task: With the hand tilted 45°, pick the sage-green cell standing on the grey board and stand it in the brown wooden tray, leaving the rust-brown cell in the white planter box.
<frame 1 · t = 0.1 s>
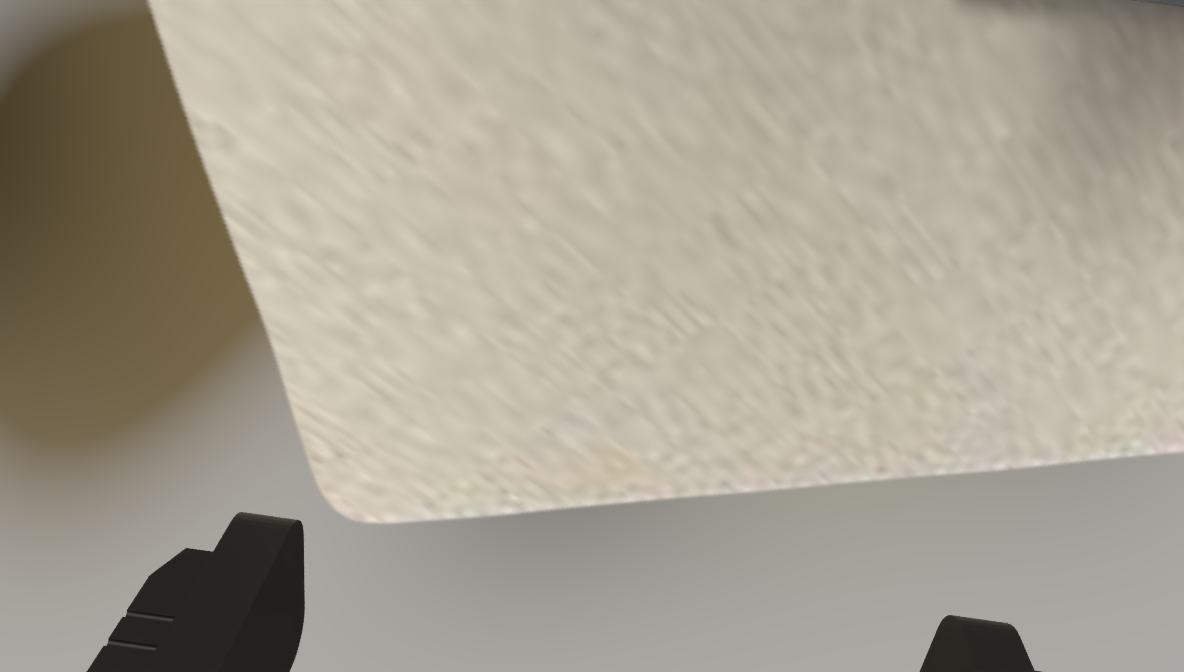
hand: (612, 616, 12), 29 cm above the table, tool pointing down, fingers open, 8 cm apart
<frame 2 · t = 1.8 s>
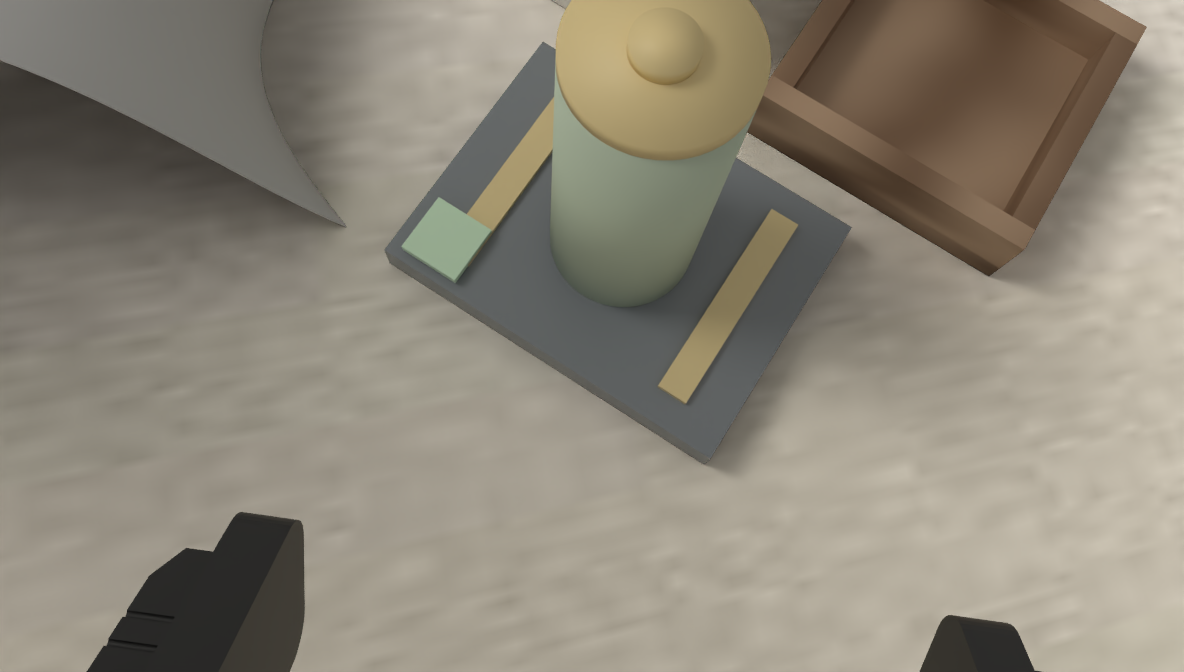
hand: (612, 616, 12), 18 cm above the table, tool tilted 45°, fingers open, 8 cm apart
brown wooden tray: (928, 97, 35), on the table
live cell: (621, 238, 31), point 1 cm above the table, touching grey board
grey board: (618, 251, 33), on the table
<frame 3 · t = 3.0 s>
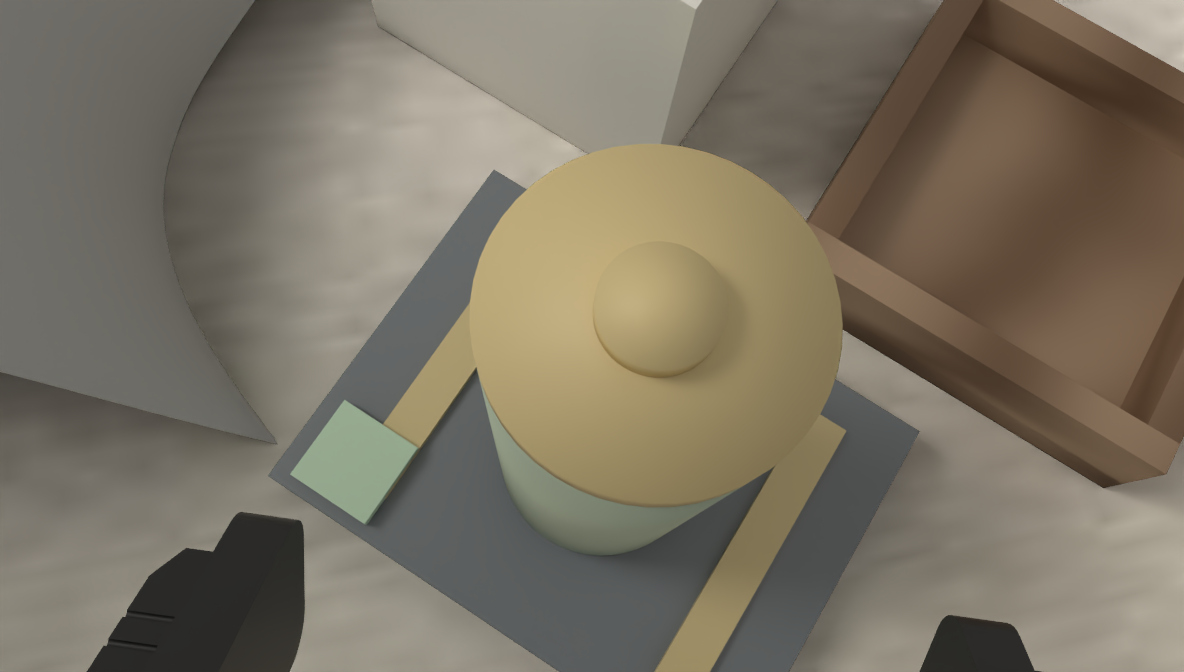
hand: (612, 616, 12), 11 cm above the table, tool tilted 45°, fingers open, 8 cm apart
brown wooden tray: (1013, 234, 26), on the table
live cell: (601, 453, 23), point 1 cm above the table, touching grey board
grey board: (598, 460, 24), on the table
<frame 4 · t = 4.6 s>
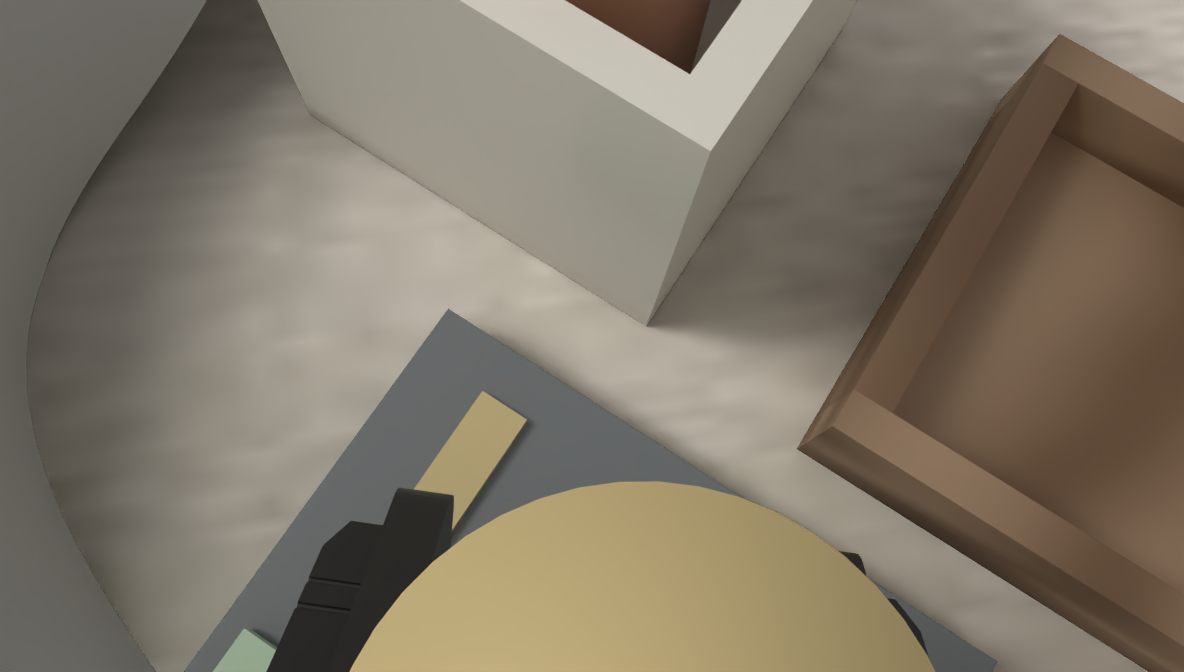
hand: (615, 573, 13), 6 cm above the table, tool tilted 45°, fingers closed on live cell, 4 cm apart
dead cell: (586, 54, 21), point 1 cm above the table, touching white planter box
brown wooden tray: (1107, 383, 21), on the table
white planter box: (584, 69, 22), on the table
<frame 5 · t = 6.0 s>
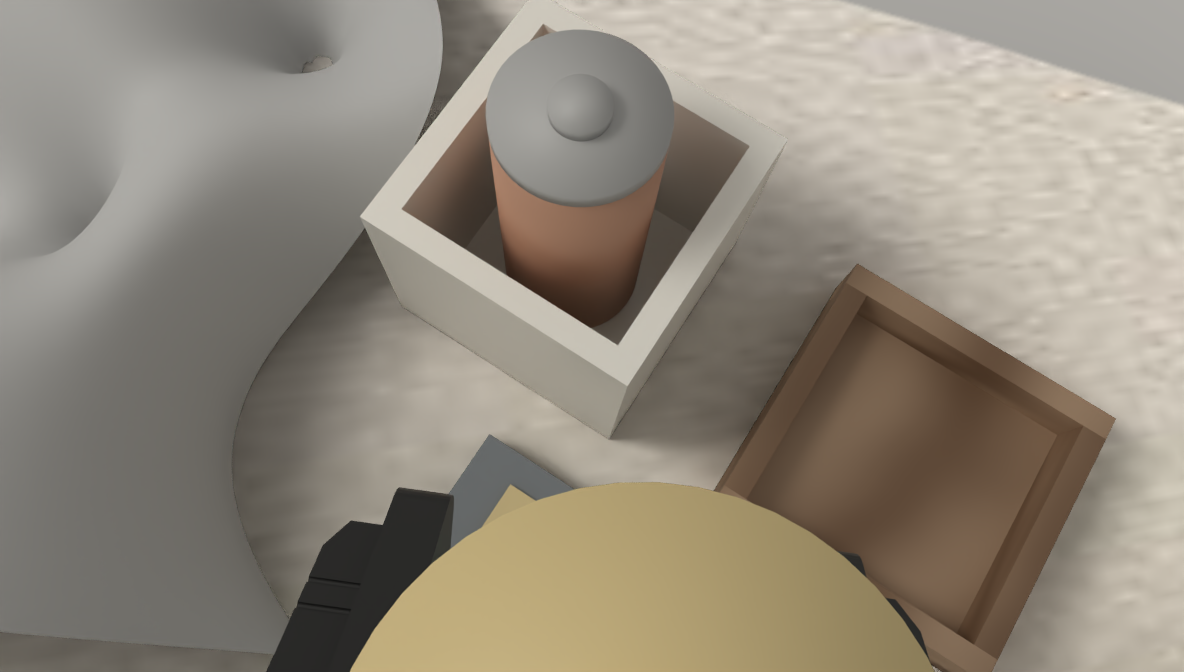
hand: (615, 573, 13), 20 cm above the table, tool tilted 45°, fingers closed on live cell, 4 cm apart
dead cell: (572, 267, 34), point 1 cm above the table, touching white planter box
brown wooden tray: (891, 472, 34), on the table
sculpture: (173, 257, 35), on the table
grey board: (567, 659, 31), on the table
white planter box: (571, 273, 35), on the table
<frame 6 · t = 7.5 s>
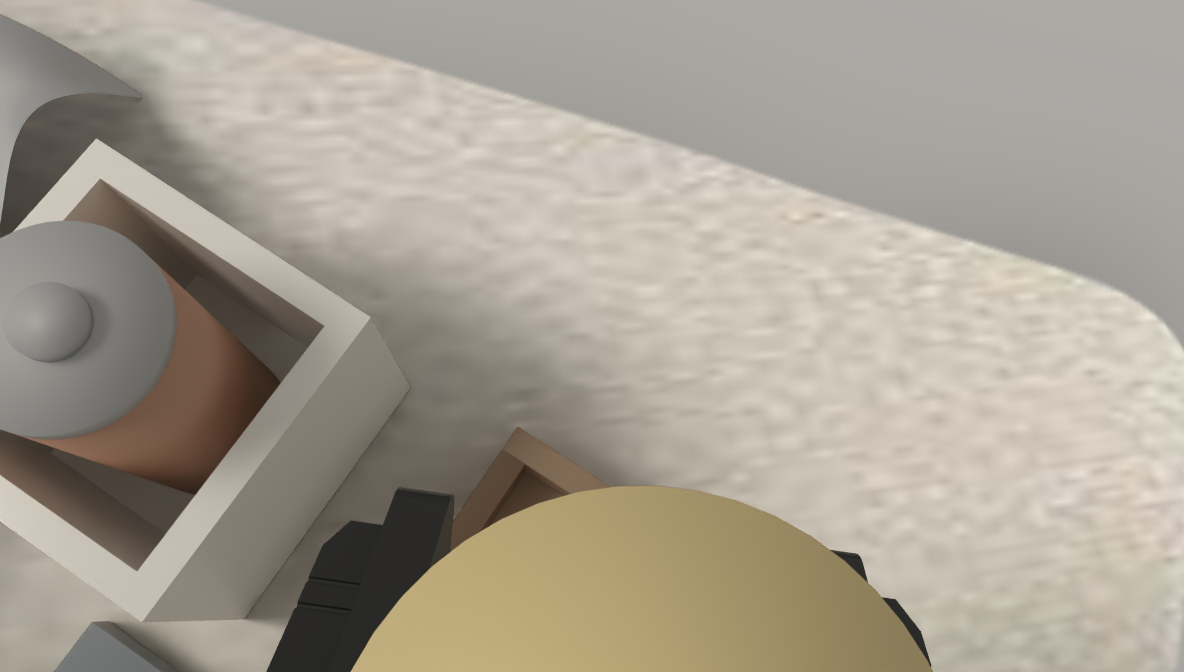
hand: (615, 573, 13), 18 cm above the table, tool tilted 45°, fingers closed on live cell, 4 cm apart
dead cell: (214, 421, 31), point 1 cm above the table, touching white planter box
brown wooden tray: (562, 656, 30), on the table
white planter box: (220, 425, 31), on the table
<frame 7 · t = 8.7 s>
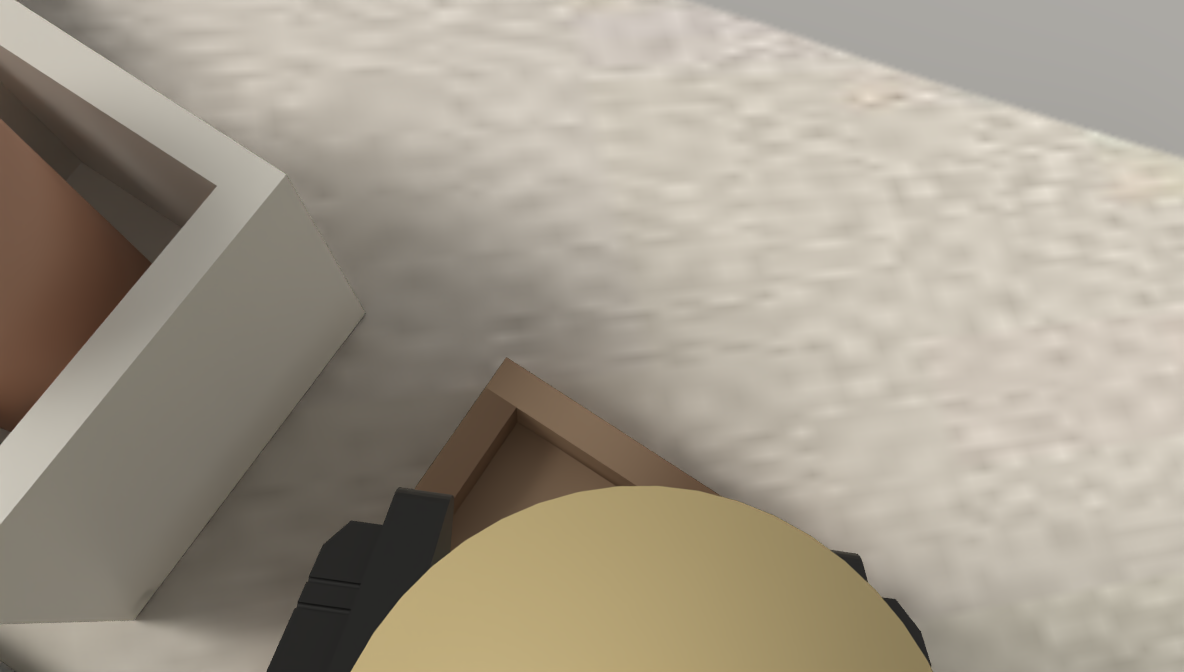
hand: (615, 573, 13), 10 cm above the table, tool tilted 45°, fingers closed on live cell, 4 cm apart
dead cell: (98, 354, 23), point 1 cm above the table, touching white planter box
brown wooden tray: (566, 671, 22), on the table
white planter box: (109, 360, 23), on the table
when the fingers open (8 cm above the table, at t = 9.7 s): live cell drops 2 cm, resting on brown wooden tray.
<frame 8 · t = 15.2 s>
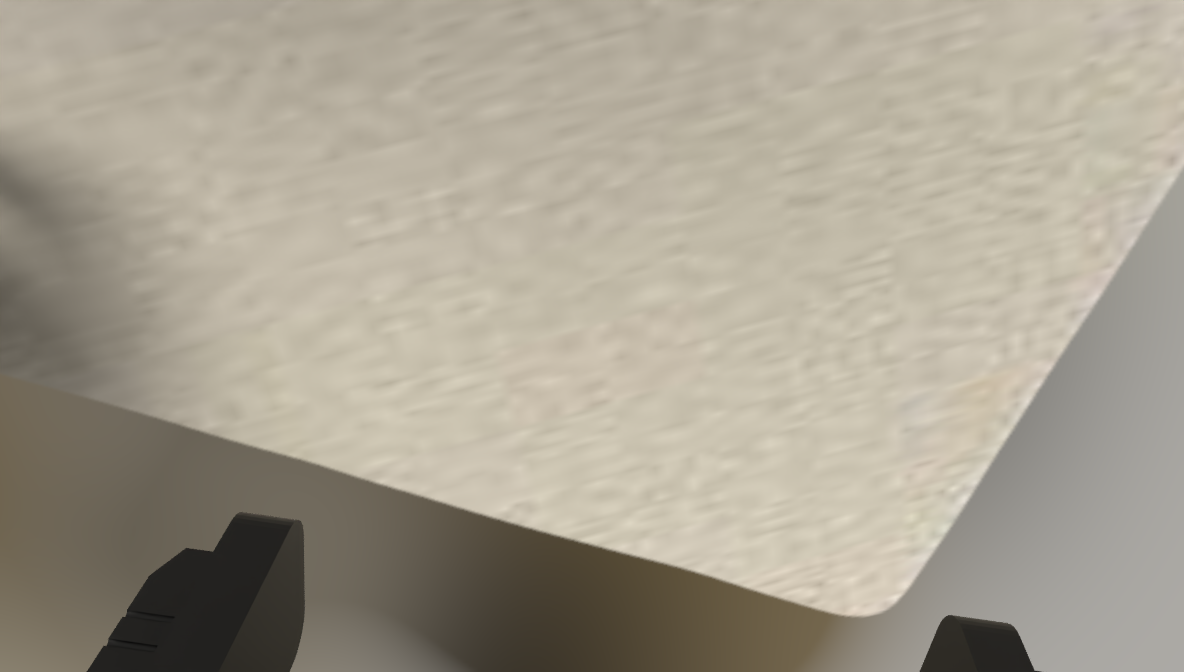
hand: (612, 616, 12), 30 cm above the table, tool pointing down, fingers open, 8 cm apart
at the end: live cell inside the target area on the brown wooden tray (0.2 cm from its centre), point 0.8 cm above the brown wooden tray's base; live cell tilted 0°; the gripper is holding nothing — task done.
